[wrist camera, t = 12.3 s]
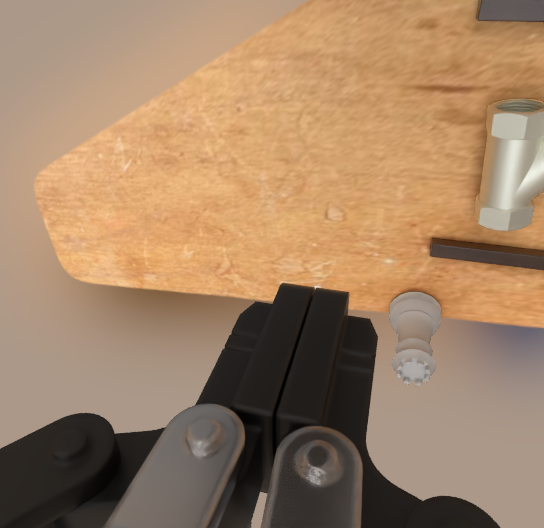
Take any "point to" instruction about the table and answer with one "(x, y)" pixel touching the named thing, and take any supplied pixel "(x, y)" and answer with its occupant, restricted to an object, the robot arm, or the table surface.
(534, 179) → the pipe fitting
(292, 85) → the table surface
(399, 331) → the rook chess piece
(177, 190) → the table surface
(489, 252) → the frame
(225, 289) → the table surface
